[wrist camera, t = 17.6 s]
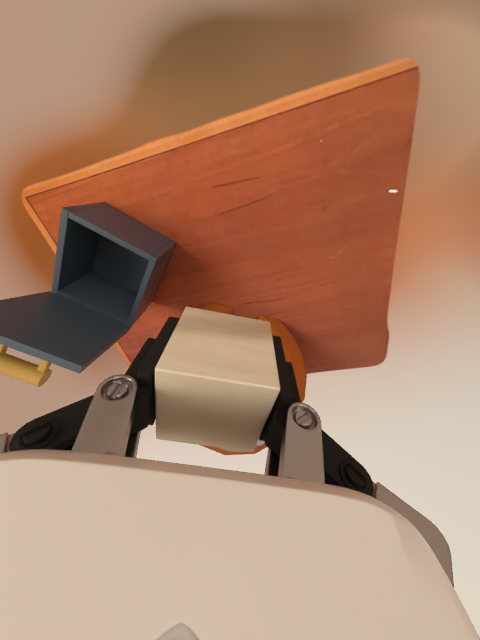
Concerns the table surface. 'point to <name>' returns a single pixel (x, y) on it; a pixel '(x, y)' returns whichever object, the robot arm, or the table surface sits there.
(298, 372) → the alarm clock
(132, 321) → the chest
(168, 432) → the block
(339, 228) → the table surface
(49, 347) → the lid
